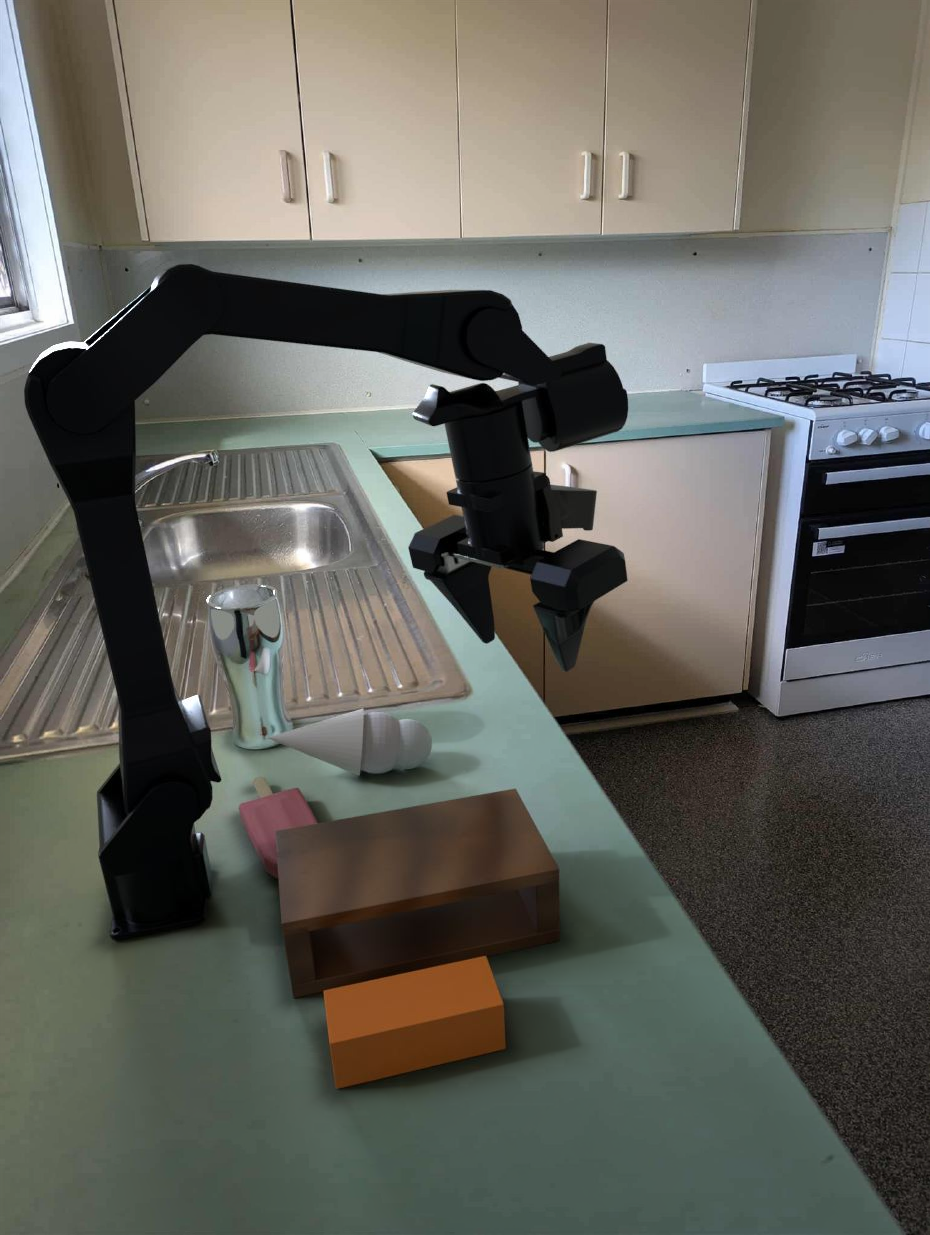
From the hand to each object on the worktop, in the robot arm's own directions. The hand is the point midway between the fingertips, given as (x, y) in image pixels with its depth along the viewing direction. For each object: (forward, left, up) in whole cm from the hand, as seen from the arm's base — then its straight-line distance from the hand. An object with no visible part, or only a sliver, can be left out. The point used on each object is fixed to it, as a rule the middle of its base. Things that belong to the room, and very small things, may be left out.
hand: (527, 654), depth 71 cm
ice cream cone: (-14, +9, -14) cm, 22 cm away
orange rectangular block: (-14, -23, -14) cm, 30 cm away
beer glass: (-22, +19, -14) cm, 32 cm away
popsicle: (-21, +2, -14) cm, 25 cm away
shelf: (-12, -12, -14) cm, 22 cm away
